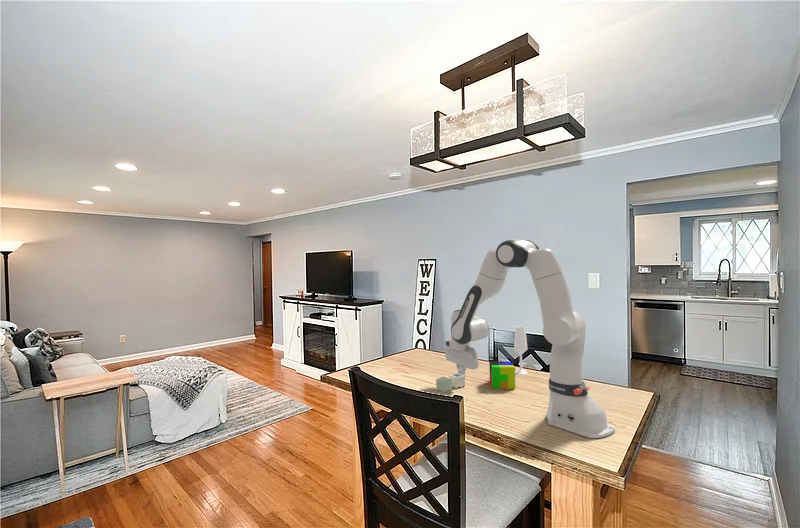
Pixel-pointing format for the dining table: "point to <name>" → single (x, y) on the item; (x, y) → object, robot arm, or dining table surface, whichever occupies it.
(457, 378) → the letter block
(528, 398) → the dining table surface
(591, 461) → the dining table surface
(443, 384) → the sage block
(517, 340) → the champagne flute
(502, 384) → the puzzle toy
